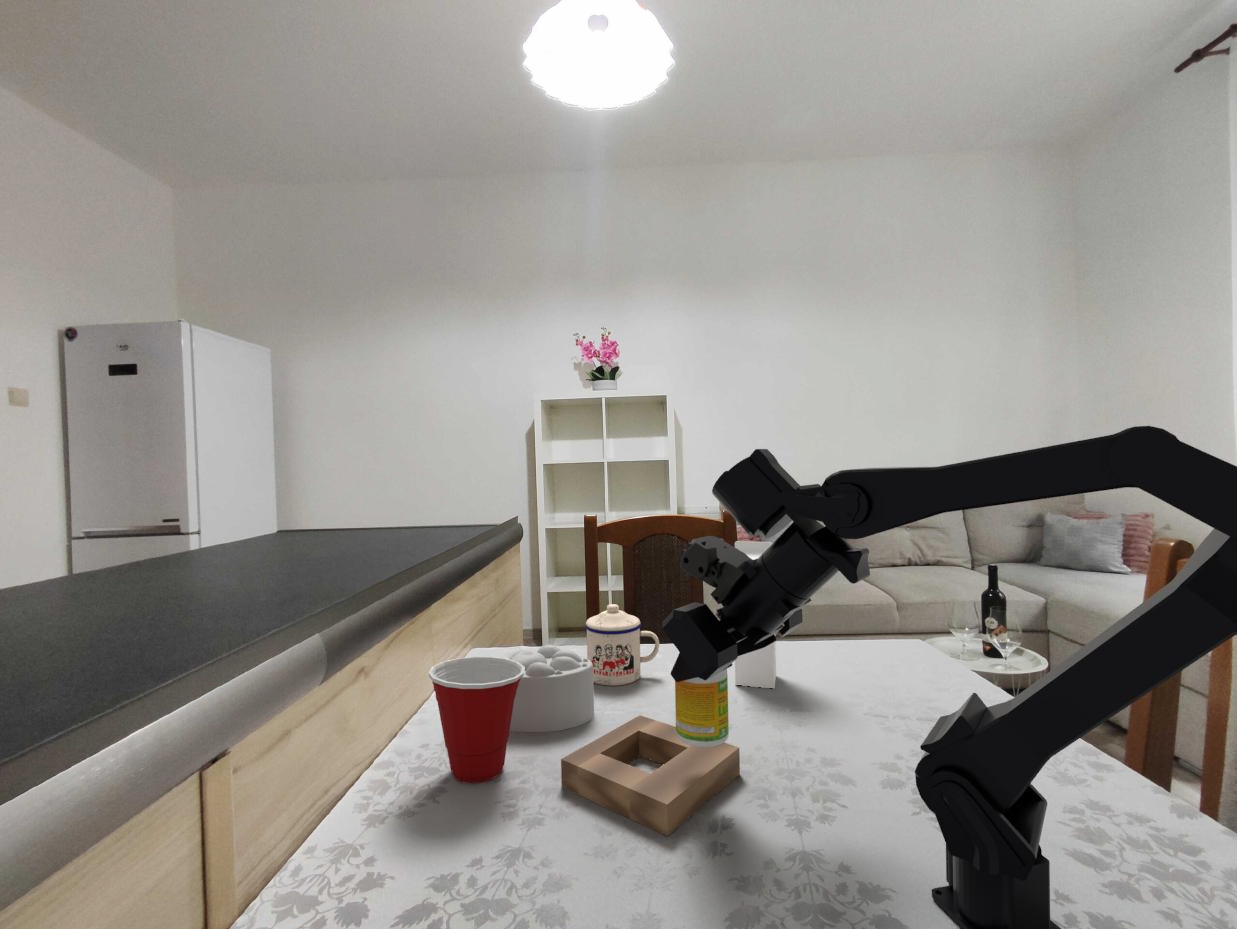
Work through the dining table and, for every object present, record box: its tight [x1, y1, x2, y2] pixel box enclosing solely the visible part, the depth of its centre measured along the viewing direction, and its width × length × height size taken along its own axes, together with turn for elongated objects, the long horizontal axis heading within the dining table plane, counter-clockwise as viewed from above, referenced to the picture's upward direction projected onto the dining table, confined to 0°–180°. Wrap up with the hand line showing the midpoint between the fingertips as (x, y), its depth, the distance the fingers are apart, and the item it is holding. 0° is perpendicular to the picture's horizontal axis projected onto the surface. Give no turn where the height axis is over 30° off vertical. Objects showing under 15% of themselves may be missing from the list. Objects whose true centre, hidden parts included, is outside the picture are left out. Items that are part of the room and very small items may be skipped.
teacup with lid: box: [584, 603, 660, 687], centre depth 98 cm, size 12×9×12 cm
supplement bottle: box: [674, 668, 730, 747], centre depth 62 cm, size 5×5×10 cm
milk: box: [734, 540, 777, 690], centre depth 95 cm, size 6×6×22 cm
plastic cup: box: [428, 656, 525, 784], centre depth 69 cm, size 11×11×12 cm
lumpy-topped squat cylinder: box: [505, 644, 595, 733], centre depth 84 cm, size 10×13×9 cm
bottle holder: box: [560, 714, 741, 837], centre depth 66 cm, size 14×14×3 cm
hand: (689, 669), depth 63 cm, fingers closed on supplement bottle, 5 cm apart
